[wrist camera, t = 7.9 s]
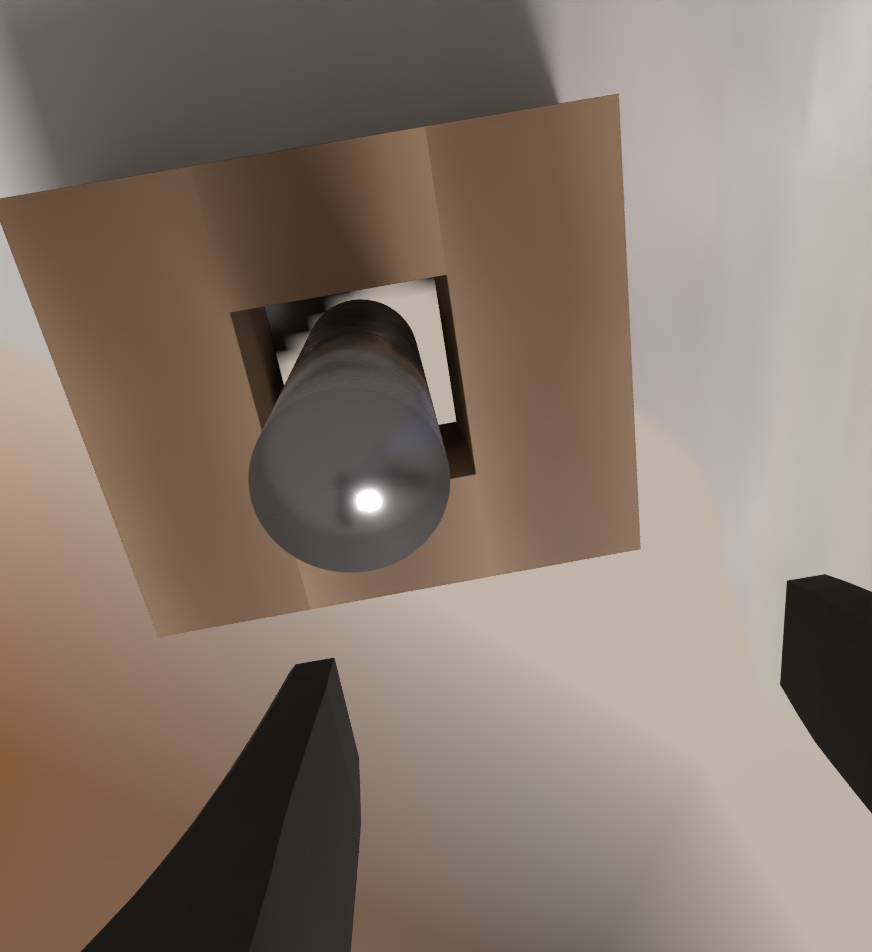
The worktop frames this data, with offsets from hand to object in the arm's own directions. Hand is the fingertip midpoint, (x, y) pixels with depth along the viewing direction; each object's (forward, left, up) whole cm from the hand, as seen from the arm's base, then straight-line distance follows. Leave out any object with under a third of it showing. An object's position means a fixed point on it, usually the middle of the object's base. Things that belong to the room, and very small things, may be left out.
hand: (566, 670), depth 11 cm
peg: (+3, -3, -10) cm, 11 cm away
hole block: (+3, -3, -10) cm, 11 cm away
